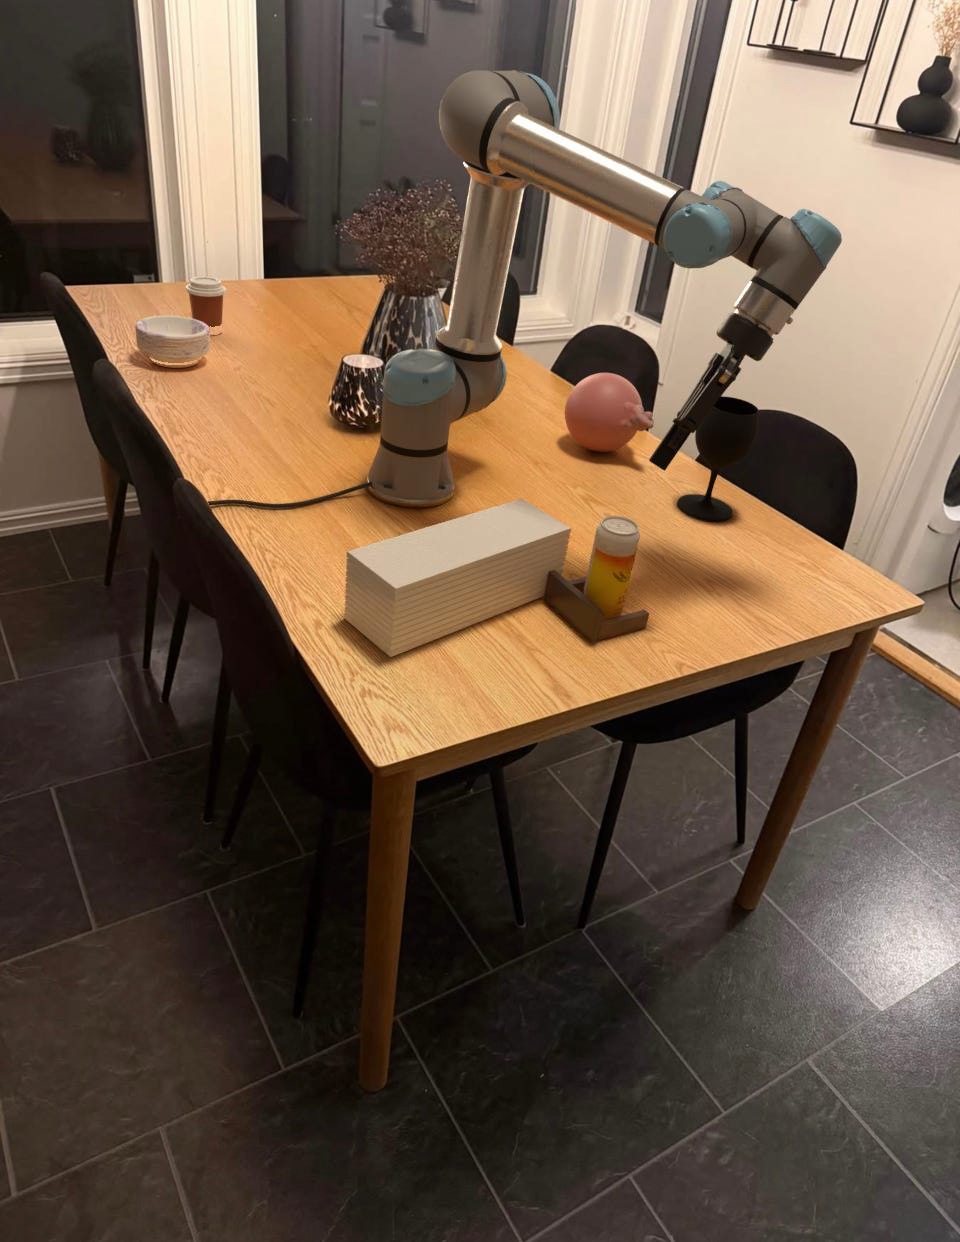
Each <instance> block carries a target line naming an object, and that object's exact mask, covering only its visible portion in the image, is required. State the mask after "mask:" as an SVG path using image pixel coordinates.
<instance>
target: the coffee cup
mask: <svg viewBox="0 0 960 1242" xmlns="http://www.w3.org/2000/svg"><path fill="white" fill-rule="evenodd" d="M185 292H186V293H187V294H188V299H189V302H190V303H189V304H190V311H191V318H192V319H196V320H199V321H201V322H203V323H205V324H206V325H207V326H209V327H210V326H211V327H215V326H220V325H221V324H222V325H223V309H224V295H225V294H226V293H227V287H225V286H224V285H223V284H222V281H221V280H220V279H219V278H217V277H213V276H207V275H206V276H203V275H198V276H193V277H191V278H189V283H188V284H186V286H185Z"/></svg>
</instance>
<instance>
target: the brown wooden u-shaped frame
mask: <svg viewBox="0 0 960 1242" xmlns="http://www.w3.org/2000/svg"><path fill="white" fill-rule="evenodd" d="M586 577H587V575H586V576H582V577H577V578H574V579H569V580H568V579H567V578H565V577H564V576H563V574H562V575H560V574H559V573H558V572H557V571H556V570H552V571H549V572H548V577H547V583H546V588H545V594H544V596H543V601H544V602H545V603H547V605H548V606H550V607H551V608H552V609H553V610H554V611H555V612H556V613H557V614H558V615H559V616H561V617H562V618H563V619H564V620H565V621H566V622H567V623H568V624H569V625H571V626H572V628H574V629H575V630H576V632H578V633H579V634H581V636H583V638H585V639H586V641H588V642H589V643H596V642H599V641H602V640H605V639H609V638H613V637H617V636H620V635H624V634H627V633H632V632H634V631H638V630H643V629H646V628H647V625H648V621H649V617H650V613H649V612H648V611H647V610H646V609H641V610H637V611H633V612H629V613H626V614H621V616H617V617H614V618H610V619H606V620H602V617H603V613H604V612H603V611H602V610H601V609H600V608H599V607H598V606H596V605H595V604H594V603H593V602H592V601H591V600H589V599H588V598H587V597H586V596H585V595H584V594H583V592H584V587H585V582H586Z"/></svg>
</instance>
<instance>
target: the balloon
mask: <svg viewBox="0 0 960 1242" xmlns="http://www.w3.org/2000/svg"><path fill="white" fill-rule="evenodd" d="M564 420H565V424H566V427H567V430H568V432H569V434H570V436H571V437H572V438H573V439H574V441H576V443H578V444H579V445H580V446H581V447H583V448H585V449H588V450H590V451H593V452H598V453H605V452H612V451H616V450H618V449H621V448H622V447H625V445H627V444H628V443H630V442H631V441H632V440H633V438H634V437H635V435H636V434H637V432H645V431H646V430H647V429H653V428H654V423H655V421H654V419H653V412H651V411H645V408H644V407H643V402H642V399H641V396H640V394H639V391H638V390H637V389H636V387H635V386H634V384H632V383H631V382H630V381H629V380H628V379H626V378H625V377H623V376H621V375H619V374H616V373H611V372H598V373H594V374H591V375H588V376H586V377H584V378H583V379H581V380H580V381H579V382H578V383H577V384H576V385H575V386H574V387H573V389H572V390H571V391H570V393H569V395H568V397H567V399H566V403H565V407H564Z"/></svg>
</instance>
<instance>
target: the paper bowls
mask: <svg viewBox="0 0 960 1242" xmlns="http://www.w3.org/2000/svg"><path fill="white" fill-rule="evenodd" d="M135 338H136V346H137V348H138V350H139V351H141V352H142V353H144V354H146V355H147V357H148V356H149V357H151V358H153V359H155V360H158V361H161V362H168V363H184V362H190V361H194V360H197V359H199V358H200V357H201V358H202V357H203V356H206V355H207V354H208V353H209V352H210V350H211V336H210V329H209V327H208V326H207V325H206V324H205V323H203V322H201V321H199V320H196V319H192V317H187V316H180V315H153V316H152V315H151V316H148V317H144V318H140V319H139V320H138V321H136V323H135ZM149 357H148V359H149V360H150V361H151V362H152V363H153V364H155V365H157V366H160V367H164V368H170V369H183V368H189V367H192V366H193V367H194V366H195V365H197V364H198V363H199V362H200V360H199V361H197V362H195V363H192V364H187V365H165V364H160V363H157V362H154V361H152V360H151V359H150V358H149ZM201 358H200V359H201Z"/></svg>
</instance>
